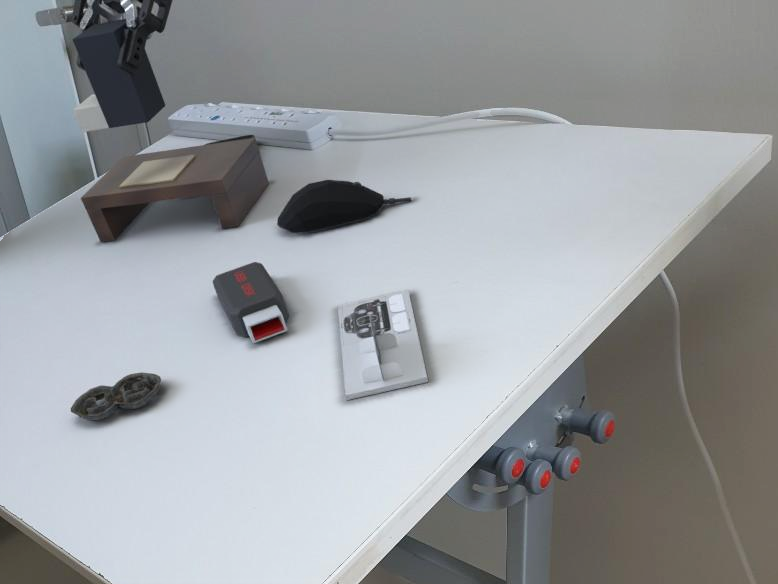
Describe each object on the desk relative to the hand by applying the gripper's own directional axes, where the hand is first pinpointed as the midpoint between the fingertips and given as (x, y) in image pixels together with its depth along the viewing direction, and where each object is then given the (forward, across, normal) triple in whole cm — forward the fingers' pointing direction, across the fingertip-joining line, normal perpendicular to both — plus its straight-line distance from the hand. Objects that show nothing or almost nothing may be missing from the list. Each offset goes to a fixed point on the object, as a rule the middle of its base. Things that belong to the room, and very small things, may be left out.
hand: (106, 70), depth 93 cm
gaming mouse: (+8, +23, +17) cm, 30 cm away
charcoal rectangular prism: (+3, -2, +4) cm, 6 cm away
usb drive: (+21, +28, +3) cm, 35 cm away
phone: (+2, -5, +22) cm, 23 cm away
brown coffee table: (+10, 0, +14) cm, 17 cm away
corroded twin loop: (+33, +26, -9) cm, 43 cm away
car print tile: (+22, +43, +2) cm, 49 cm away
